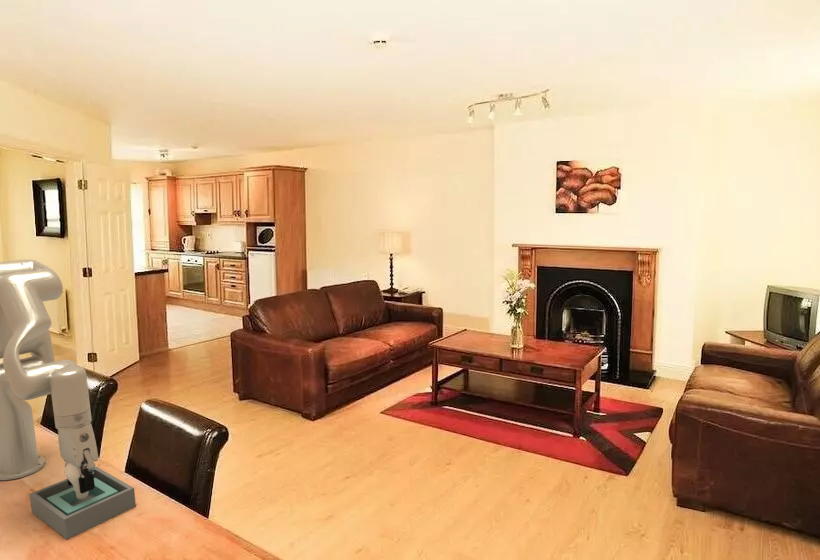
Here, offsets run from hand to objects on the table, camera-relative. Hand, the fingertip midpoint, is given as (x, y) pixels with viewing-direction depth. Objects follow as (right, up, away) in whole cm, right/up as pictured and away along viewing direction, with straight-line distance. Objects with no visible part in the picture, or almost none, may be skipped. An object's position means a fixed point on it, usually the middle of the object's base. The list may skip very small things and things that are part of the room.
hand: (81, 486), depth 134 cm
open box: (0, -6, +1) cm, 6 cm away
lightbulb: (0, -4, +1) cm, 4 cm away
